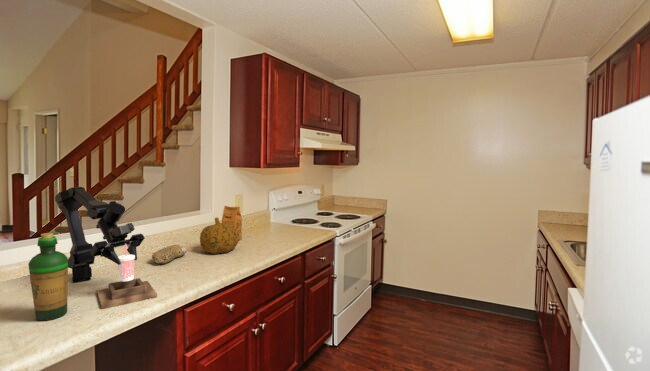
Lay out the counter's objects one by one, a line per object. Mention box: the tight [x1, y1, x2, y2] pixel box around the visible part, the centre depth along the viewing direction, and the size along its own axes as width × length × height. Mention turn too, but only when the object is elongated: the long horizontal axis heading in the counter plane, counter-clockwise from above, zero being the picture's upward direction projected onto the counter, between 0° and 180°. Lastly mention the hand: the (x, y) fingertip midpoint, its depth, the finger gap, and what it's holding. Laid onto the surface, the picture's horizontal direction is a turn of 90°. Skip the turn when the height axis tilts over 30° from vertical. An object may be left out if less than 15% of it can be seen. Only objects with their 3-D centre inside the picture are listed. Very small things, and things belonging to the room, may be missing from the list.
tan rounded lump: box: [151, 244, 187, 265], centre depth 183 cm, size 13×8×20 cm
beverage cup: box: [117, 244, 135, 281], centre depth 137 cm, size 6×6×14 cm
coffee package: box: [221, 205, 243, 241], centre depth 227 cm, size 10×12×22 cm
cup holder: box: [96, 277, 158, 310], centre depth 137 cm, size 18×18×4 cm
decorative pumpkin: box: [199, 216, 240, 255], centre depth 200 cm, size 20×21×20 cm
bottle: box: [27, 232, 69, 321], centre depth 119 cm, size 11×11×28 cm
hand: (128, 261), depth 136 cm, fingers closed on beverage cup, 6 cm apart
